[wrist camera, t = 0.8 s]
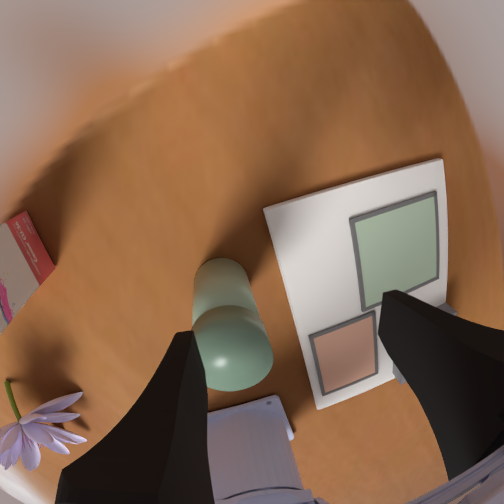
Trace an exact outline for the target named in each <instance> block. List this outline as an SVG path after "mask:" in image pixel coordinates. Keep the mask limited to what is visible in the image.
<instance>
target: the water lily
mask: <svg viewBox="0 0 504 504" xmlns="http://www.w3.org/2000/svg"><path fill="white" fill-rule="evenodd" d="M4 383H5V387H6V391H7V394H8V397H9V400H10V403H11V406H12V408H13V411H14V413H15V416H16V418H17V420H18V421H17V422H14V423H11V424H8V425H6V426H4V427H2V428H0V438H1V437H3V436H4V435H5V434H6V433H7V434H6V435H5V436H4V437H3V438H2V439H1V441H0V464H2V466H4V467H5V470H7V469H8V468H9V467H10V465H11V464H12V465H13V467H14V465H15V464H16V462H17V460H18V458H19V456H20V457H21V460H22V463H23V465H24V467H25V468H26V469H27V470H28V471H31V470H32V469H36V468H37V467H38V465H39V463H40V452H39V448H38V445H39V444H38V443H40V444H41V445H42V444H44V445H45V446H46V447H48V448H49V449H51V450H53V451H55V452H57V453H61V454H69V450H68V449H67V448H66V447H65V446H64V445H63V444H62V443H61V442H65V443H74V444H78V443H82V442H86V441H87V440H86V439H85V438H83V437H81V436H79V435H77V434H75V433H73V432H71V431H68V430H65V429H62V428H59V427H55V426H52V425H48V424H44V423H39V422H52V423H60V422H66V421H70V420H73V419H75V418H77V417H79V416H80V415H81V414H77V413H54V412H58V411H60V410H63V409H65V408H67V407H68V406H70V405H72V404H73V403H74V402H76V401H77V400H78V399H79V398H80V397H81V396H82V393H83V392H78V393H73V394H69V395H65V396H62V397H59V398H56V399H53V400H51V401H49V402H46V403H44V404H42V405H40V406H39V407H37V408H35V409H34V410H32V411H31V412H30V413H28V414H27V415H25V416H23V417H21V415H20V413H19V410H18V408H17V405H16V403H15V400H14V397H13V393H12V390H11V386H10V382H9V381H5V382H4ZM60 441H61V442H60ZM36 442H37V443H36ZM37 444H38V445H37ZM42 446H43V445H42ZM39 447H40V446H39ZM43 447H44V446H43ZM40 448H41V447H40Z"/></svg>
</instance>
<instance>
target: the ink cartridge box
mask: <svg viewBox="0 0 504 504" xmlns="http://www.w3.org/2000/svg"><path fill="white" fill-rule="evenodd" d="M54 269H55V266H54V264H53V262H52V260H51V259H50V257H49V255H48V253H47V251H46V250H45V247H44V245H43V243H42V241H41V239H40V237H39V236H38V234H37V232H36V230H35V228H34V225H33V223H32V221H31V219H30V217H29V215H28V212H27V211H24V212H22V213H21V214H19V215H17V216H15V217H13V218H12V219H10V220H8V221H6V222H5V223H3V224H1V225H0V335H1V333H2V332H3V331H4V329H5V328H6V327H7V326H8V324H9V323H10V322H11V320H12V319H13V318H14V317H15V315H16V314H17V313H18V312H19V310H20V309H21V308H22V307H23V305H24V304H25V303H26V302H27V301H28V299H29V298H30V297H31V296H32V295H33V293H34V292H35V291H36V290H37V289H38V288H39V286H40V285H41V284H42V283H43V282H44V281H45V279H46V278H47V277H48V276H49V275H50V274H51V273H52V272H53V271H54Z"/></svg>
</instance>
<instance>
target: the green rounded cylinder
mask: <svg viewBox="0 0 504 504" xmlns="http://www.w3.org/2000/svg"><path fill="white" fill-rule="evenodd" d="M191 330H193V331H194V335H195V338H196V342H197V345H198V349H199V352H200V355H201V359H202V362H203V365H204V369H205V374H206V383H207V387H209V388H212V389H215V390H220V391H238V390H243V389H246V388H249V387H251V386H254V385H255V384H257V383H259V382H260V381H261V380H262V379H264V378H265V377H266V375H267V374H268V373H269V371H270V370H271V368H272V365H273V352H272V348H271V345H270V342H269V339H268V336H267V332H266V329H265V326H264V324H263V322H262V320H261V319H260V317H259V313H258V310H257V307H256V303H255V300H254V297H253V293H252V290H251V287H250V283H249V280H248V277H247V274H246V271H245V270H244V268H243V267H242V266H241V265H240V264H239V263H237V262H236V261H234V260H231V259H228V258H215V259H212V260H209V261H207V262H205V263H204V264H203V265H202V266H201V267H200V268H199V269H198V271H197V272H196V275H195V278H194V295H193V326H192V329H191Z"/></svg>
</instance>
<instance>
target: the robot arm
mask: <svg viewBox="0 0 504 504" xmlns="http://www.w3.org/2000/svg"><path fill="white" fill-rule="evenodd" d="M378 336H379V338H380V340H381V342H382V344H383V346H384V348H385V350H386V352H387V354H388V355H389V357H390V358H391V360H392V361H393V362H394V364H395V365H396V367H397V368H398V370H399V371H400V373H401V374H402V375H403V377H404V378H405V380H406V381H407V383H408V384H409V386H410V387H411V389H412V390H413V391H414V393H415V395H416V396H417V398H418V400H419V402H420V404H421V406H422V408H423V410H424V412H425V414H426V416H427V418H428V420H429V422H430V425H431V427H432V429H433V432H434V434H435V437H436V439H437V442H438V445H439V448H440V451H441V453H442V457H443V460H444V464H445V467H446V471H447V475H448V479H449V481H448V482H446V483H445V484H443V485H441V486H439V487H437V488H436V489H434V490H432V491H430V492H428V493H426V494H424V495H422V496H420V497H418V498H416V499H414V500H412V501H410V502H408V503H405V504H448V503H449V502H451V501H453V500H455V499H456V498H458V497H459V496H461V495H463V494H464V493H466V492H467V491H469V490H471V489H472V488H474V487H475V486H477V485H478V484H480V483H481V484H480V486H478V487H477V488H475V489H474V490H473V491H471V492H470V493H469V494H467V495H466V496H465V497H464V498H463V499H462V500H461V501H460V502H459V503H458V504H504V331H503V330H498V329H494V328H490V327H486V326H483V325H480V324H477V323H474V322H470V321H468V320H465V319H462V318H460V317H457V316H455V315H452V314H450V313H448V312H445V311H443V310H441V309H439V308H437V307H434V306H432V305H430V304H428V303H426V302H424V301H422V300H420V299H417V298H415V297H413V296H411V295H409V294H406V293H404V292H402V291H399V290H396V289H395V290H391V291H387V292H383V295H382V304H381V312H380V320H379V327H378ZM268 401H269V402H268ZM207 412H208V393H207V383H206V374H205V369H204V365H203V362H202V359H201V355H200V352H199V349H198V345H197V342H196V338H195V335H194V331H193V330H191V331H184V332H177V333H176V334H175V335H174V337H173V339H172V342H171V344H170V346H169V348H168V350H167V352H166V354H165V356H164V358H163V359H162V361H161V363H160V365H159V367H158V368H157V370H156V372H155V374H154V375H153V377H152V379H151V380H150V382H149V383H148V385H147V386H146V388H145V390H144V391H143V393H142V394H141V395H140V397H139V398H138V400H137V401H136V402H135V404H134V405H133V406H132V408H131V409H130V410H129V411H128V413H127V414H126V415H125V416H124V417H123V418H122V419H121V421H120V422H119V423H118V424H117V425H116V426H115V427H114V428H113V429H112V430H111V431H110V432H109V433H108V434H107V435H106V436H105V437H104V438H103V439H102V440H101V441H100V442H99V443H97V444H96V445H95V446H94V447H93V448H91V449H90V450H89V451H88V452H86V453H85V454H84V455H82V456H81V457H80V458H78V459H77V460H75V461H74V462H73V463H71V464H70V465H68V466H67V467H65V468H64V469H62V472H61V475H60V479H59V483H58V488H57V494H56V500H55V504H329V503H328V502H326V501H325V500H324V499H322V498H320V497H316V498H313V495H312V492H311V489H306V490H304V488H303V484H302V481H301V478H300V475H299V471H298V468H297V465H296V461H295V458H294V454H293V451H292V448H291V444H290V440H292V439H294V434H293V432H292V429H291V427H290V424H289V421H288V419H287V416H286V414H285V411H284V409H283V406H282V403H281V401H280V398H279V396H277V395H272V396H269V397H265V398H262V399H259V400H255V401H252V402H248V403H245V404H241V405H237V406H234V407H230V408H226V409H222V410H218V411H214V412H210V413H207Z"/></svg>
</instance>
